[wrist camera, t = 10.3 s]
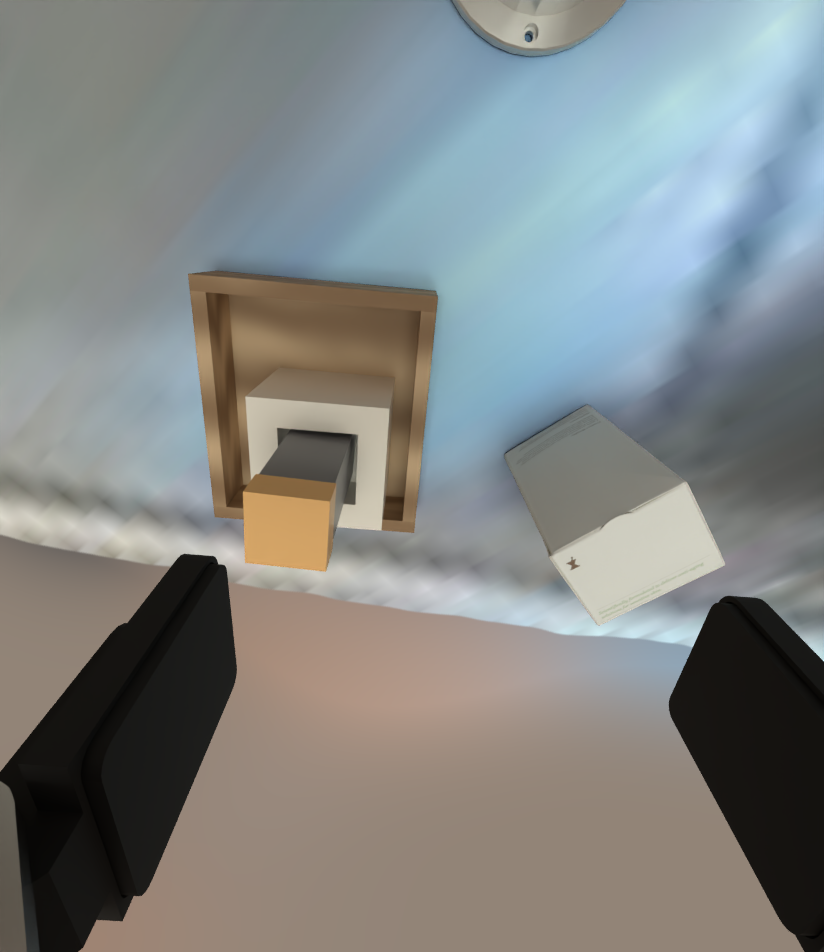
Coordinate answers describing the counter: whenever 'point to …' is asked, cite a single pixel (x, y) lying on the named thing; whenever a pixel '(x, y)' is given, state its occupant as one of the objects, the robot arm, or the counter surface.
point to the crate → (309, 365)
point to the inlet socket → (329, 428)
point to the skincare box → (611, 514)
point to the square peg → (298, 500)
